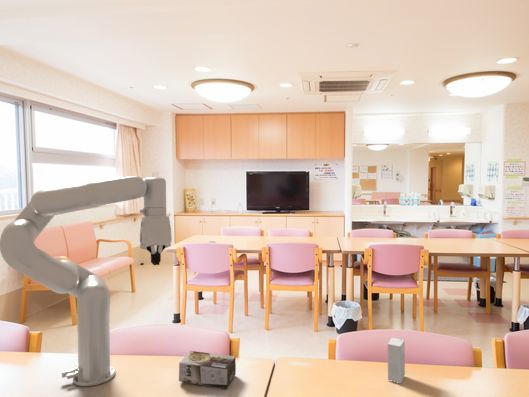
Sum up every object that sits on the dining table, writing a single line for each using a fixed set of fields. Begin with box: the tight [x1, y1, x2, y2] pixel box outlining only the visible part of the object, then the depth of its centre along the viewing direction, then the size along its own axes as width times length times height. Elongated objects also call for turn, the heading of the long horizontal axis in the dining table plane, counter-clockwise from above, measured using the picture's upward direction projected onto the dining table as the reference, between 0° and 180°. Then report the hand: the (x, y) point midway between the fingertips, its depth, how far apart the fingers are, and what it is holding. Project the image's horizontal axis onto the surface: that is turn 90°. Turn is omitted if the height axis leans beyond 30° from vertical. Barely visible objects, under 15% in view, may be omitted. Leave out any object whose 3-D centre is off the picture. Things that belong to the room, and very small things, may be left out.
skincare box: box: [387, 337, 406, 384], centre depth 119 cm, size 6×4×12 cm
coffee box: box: [178, 350, 237, 390], centre depth 119 cm, size 9×6×16 cm
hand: (155, 264), depth 130 cm, fingers closed
